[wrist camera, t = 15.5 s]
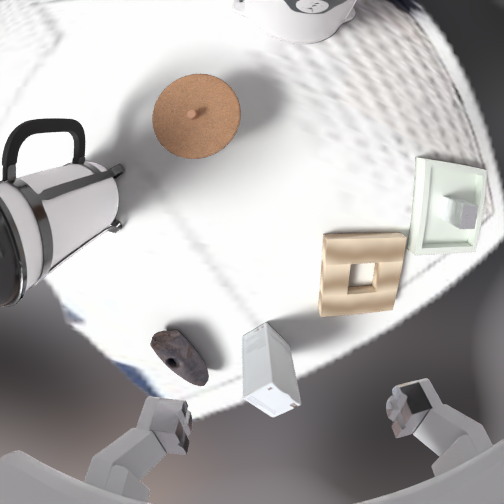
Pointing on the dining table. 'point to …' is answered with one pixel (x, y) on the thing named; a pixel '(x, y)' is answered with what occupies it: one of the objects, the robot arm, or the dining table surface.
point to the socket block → (356, 252)
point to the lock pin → (458, 212)
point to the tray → (430, 201)
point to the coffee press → (50, 210)
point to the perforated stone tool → (180, 356)
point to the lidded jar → (196, 116)
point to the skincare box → (268, 371)
